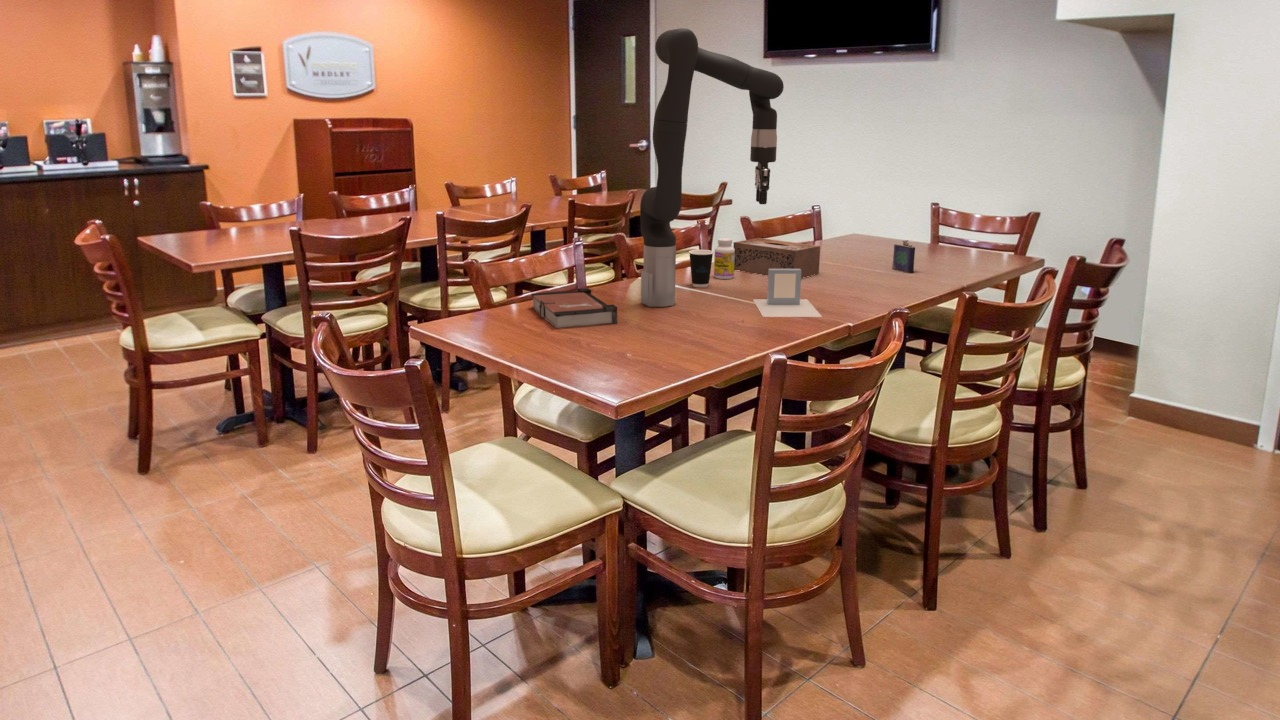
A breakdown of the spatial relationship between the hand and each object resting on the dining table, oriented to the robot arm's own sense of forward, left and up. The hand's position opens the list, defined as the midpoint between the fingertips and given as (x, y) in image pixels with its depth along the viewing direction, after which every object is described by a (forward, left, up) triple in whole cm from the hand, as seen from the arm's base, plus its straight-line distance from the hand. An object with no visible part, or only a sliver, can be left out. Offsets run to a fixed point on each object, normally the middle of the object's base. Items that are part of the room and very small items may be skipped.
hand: (761, 202), depth 266 cm
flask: (+65, +16, -28) cm, 72 cm away
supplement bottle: (+1, +26, -28) cm, 38 cm away
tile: (-1, -18, -27) cm, 33 cm away
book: (-62, -9, -28) cm, 69 cm away
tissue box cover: (+22, +29, -28) cm, 46 cm away
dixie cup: (-12, +16, -28) cm, 34 cm away
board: (-3, -23, -28) cm, 36 cm away
